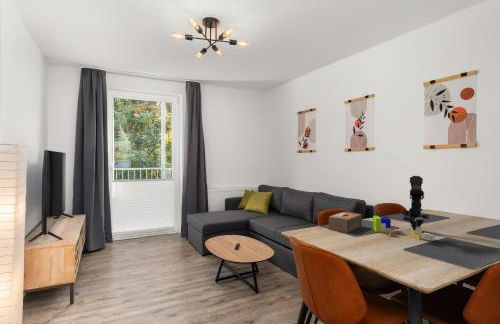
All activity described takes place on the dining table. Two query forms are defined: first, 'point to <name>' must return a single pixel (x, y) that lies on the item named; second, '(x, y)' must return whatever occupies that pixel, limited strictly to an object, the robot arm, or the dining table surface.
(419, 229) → the sage brick
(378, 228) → the puzzle toy
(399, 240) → the dining table surface
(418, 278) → the dining table surface
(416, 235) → the mustard brick
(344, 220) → the tissue box cover
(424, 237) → the grey brick
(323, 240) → the dining table surface
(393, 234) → the walnut brick
